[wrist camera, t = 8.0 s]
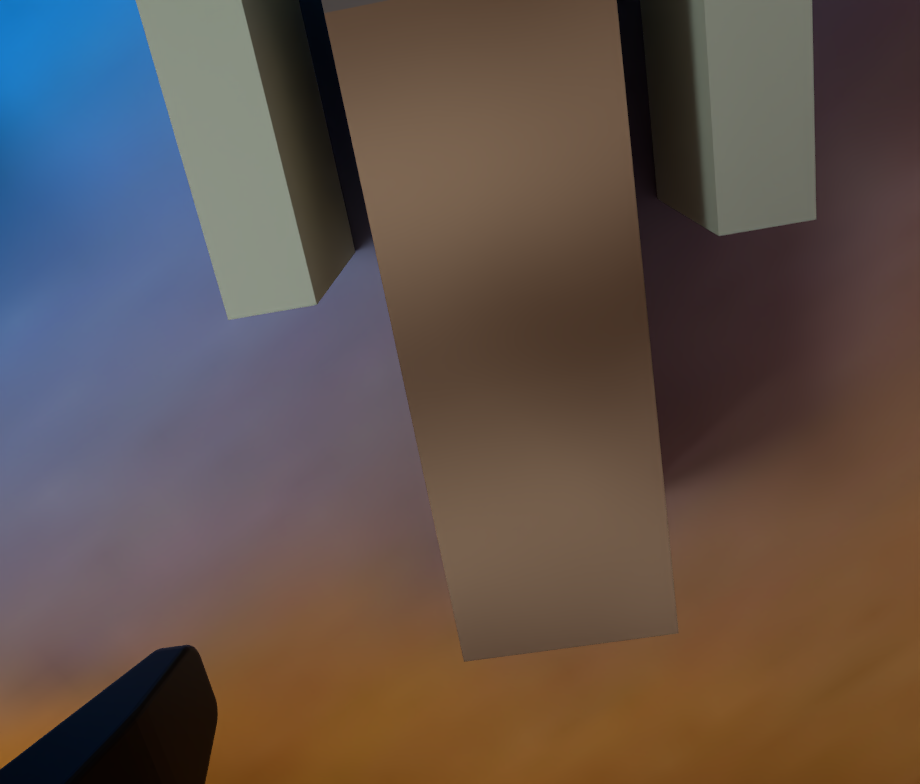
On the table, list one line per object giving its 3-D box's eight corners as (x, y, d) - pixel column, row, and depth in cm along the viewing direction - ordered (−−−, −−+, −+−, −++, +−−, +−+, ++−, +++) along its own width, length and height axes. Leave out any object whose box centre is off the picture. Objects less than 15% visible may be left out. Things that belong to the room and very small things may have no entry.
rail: (629, 501, 19) (678, 633, 15) (466, 525, 20) (464, 661, 15) (565, -51, 15) (605, -114, 10) (359, -9, 15) (309, -51, 11)
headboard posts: (751, 182, 17) (928, 242, 10) (268, 267, 17) (145, 373, 11) (729, -283, 14) (954, -610, 7) (156, -157, 15) (-96, -349, 8)
